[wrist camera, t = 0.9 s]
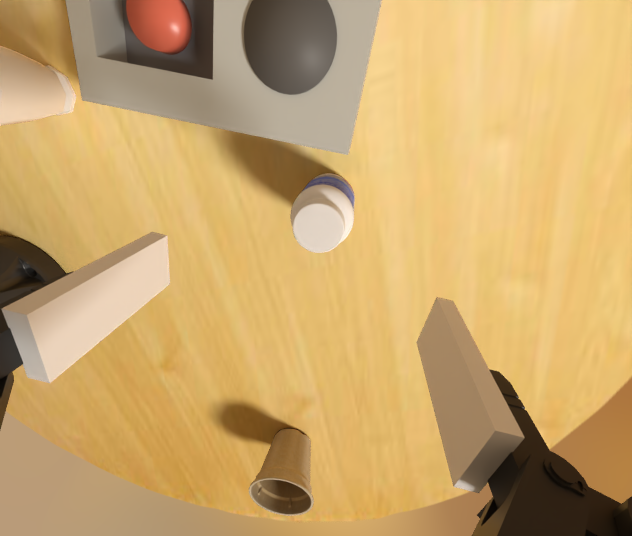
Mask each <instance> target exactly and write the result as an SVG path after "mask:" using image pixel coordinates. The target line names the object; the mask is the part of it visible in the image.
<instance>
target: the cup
mask: <svg viewBox="0 0 632 536" xmlns="http://www.w3.org/2000/svg"><path fill="white" fill-rule="evenodd" d="M75 100H76V95H75V92H74V90H73V88H72V86H71V84H70V82H69V79H68V77H67V76H65V75H64V74H62V73H61V72H59V71H58V70H57V69H55V68H54V67H52V66H49V65H47V66H44V65H42V64H41V63H39V62H37V61H35V60H33V59H31V58H29V57H27V56H25V55H23V54H21V53H18V52H16V51H14V50H11V49H9V48H6V47H3V46H0V126H2V125H8V124H15V123H22V122H29V121H33V120H37V119H41V118H44V117H48V116H52V115H55V114H56V115H63V114H67V113H71V112H73V109H74V105H75Z"/></svg>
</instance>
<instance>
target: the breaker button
mask: <svg viewBox="0 0 632 536" xmlns="http://www.w3.org/2000/svg"><path fill="white" fill-rule="evenodd" d="M126 11H127V17H128V21H129V24H130V26H131V28H132V30H133V32H134V34H135V35H136V37H137V38H138V39H139V40H140V41H141V42H142V43H143V44H144V45H145V46H147V47H149V48H151V49H154V50H156V51H159V52H162V53H164V54H168V55H175V54H178V53H180V52H182V51H183V50H184V49H185V48H186V47H187V45H188V43H189V41H190V38H191V33H192V23H191V17H190V13H189V11H188V8H187V6H186V4H185V3H184V1H183V0H127V1H126Z"/></svg>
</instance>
